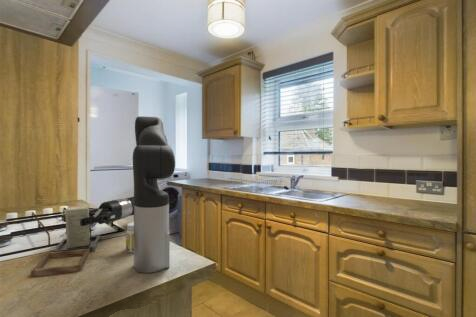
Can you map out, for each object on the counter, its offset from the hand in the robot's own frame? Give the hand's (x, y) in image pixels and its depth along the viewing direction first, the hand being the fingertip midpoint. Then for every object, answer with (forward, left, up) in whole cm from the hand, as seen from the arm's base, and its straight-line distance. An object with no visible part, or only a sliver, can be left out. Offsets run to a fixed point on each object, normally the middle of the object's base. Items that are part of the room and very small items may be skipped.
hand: (72, 220), depth 83 cm
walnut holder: (0, +11, -9) cm, 14 cm away
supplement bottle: (-18, +6, -9) cm, 21 cm away
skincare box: (-1, -2, -9) cm, 9 cm away
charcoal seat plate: (-1, -1, -9) cm, 9 cm away
